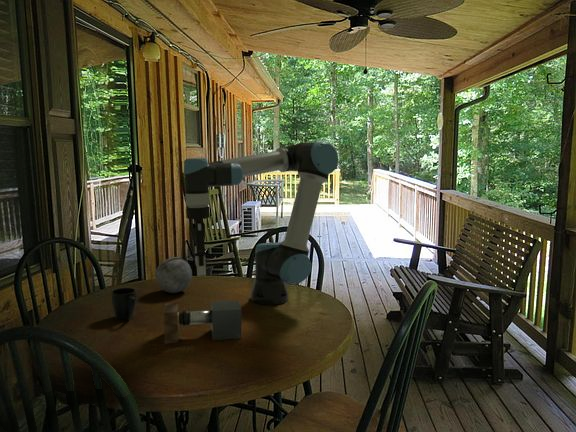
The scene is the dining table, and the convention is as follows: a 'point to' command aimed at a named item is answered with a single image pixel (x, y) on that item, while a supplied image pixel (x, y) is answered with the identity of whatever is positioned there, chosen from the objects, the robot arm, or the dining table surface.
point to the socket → (171, 323)
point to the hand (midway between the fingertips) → (200, 269)
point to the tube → (194, 317)
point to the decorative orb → (173, 275)
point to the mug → (123, 302)
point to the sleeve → (226, 320)
